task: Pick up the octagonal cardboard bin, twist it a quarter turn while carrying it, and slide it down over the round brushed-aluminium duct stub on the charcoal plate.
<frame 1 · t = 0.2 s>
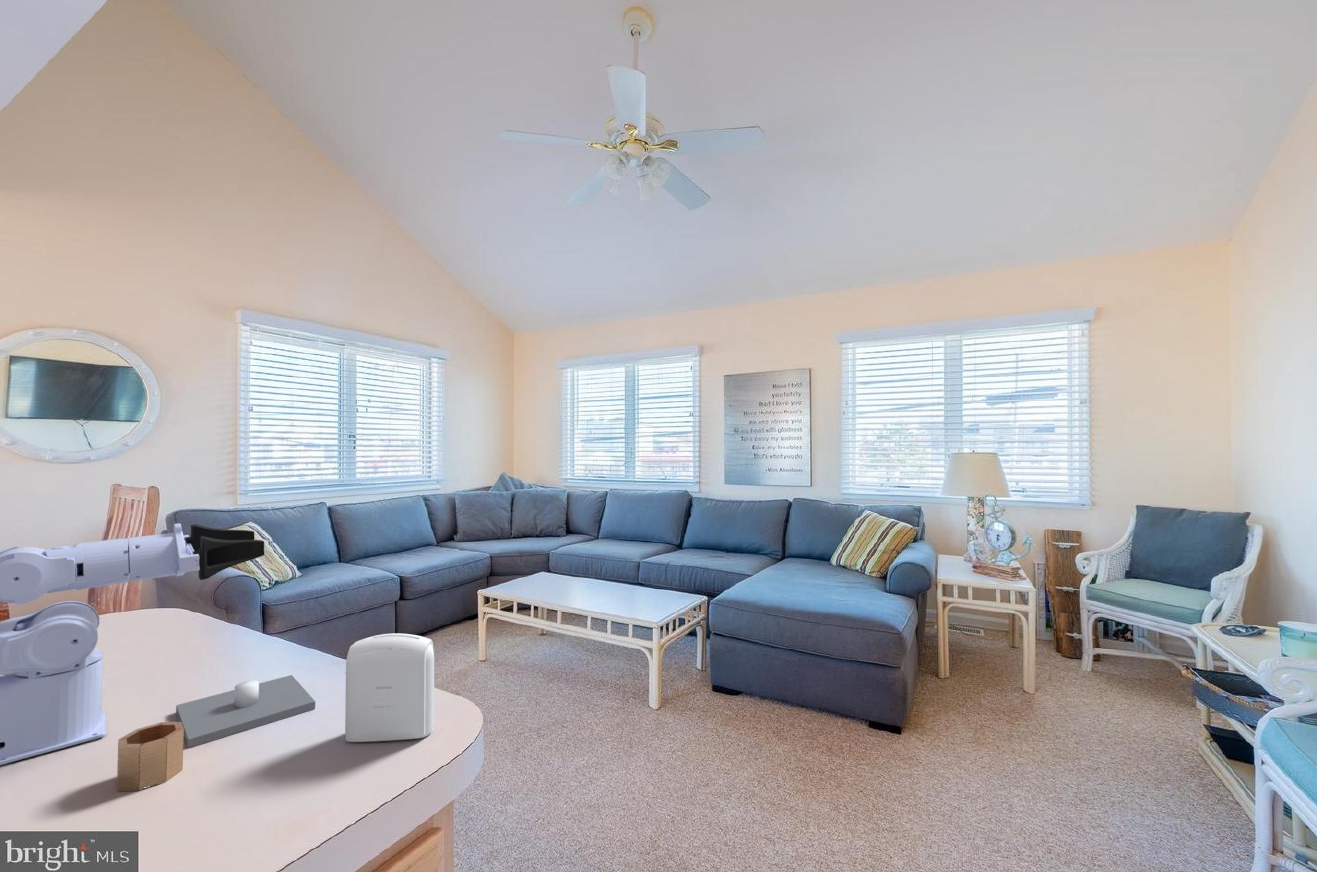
hand: (258, 542, 78), 21 cm above the counter, tool horizontal, fingers open, 7 cm apart
octagonal cardboard bin: (150, 775, 57), on the counter
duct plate: (246, 710, 71), on the counter
photo printer: (390, 736, 66), on the counter
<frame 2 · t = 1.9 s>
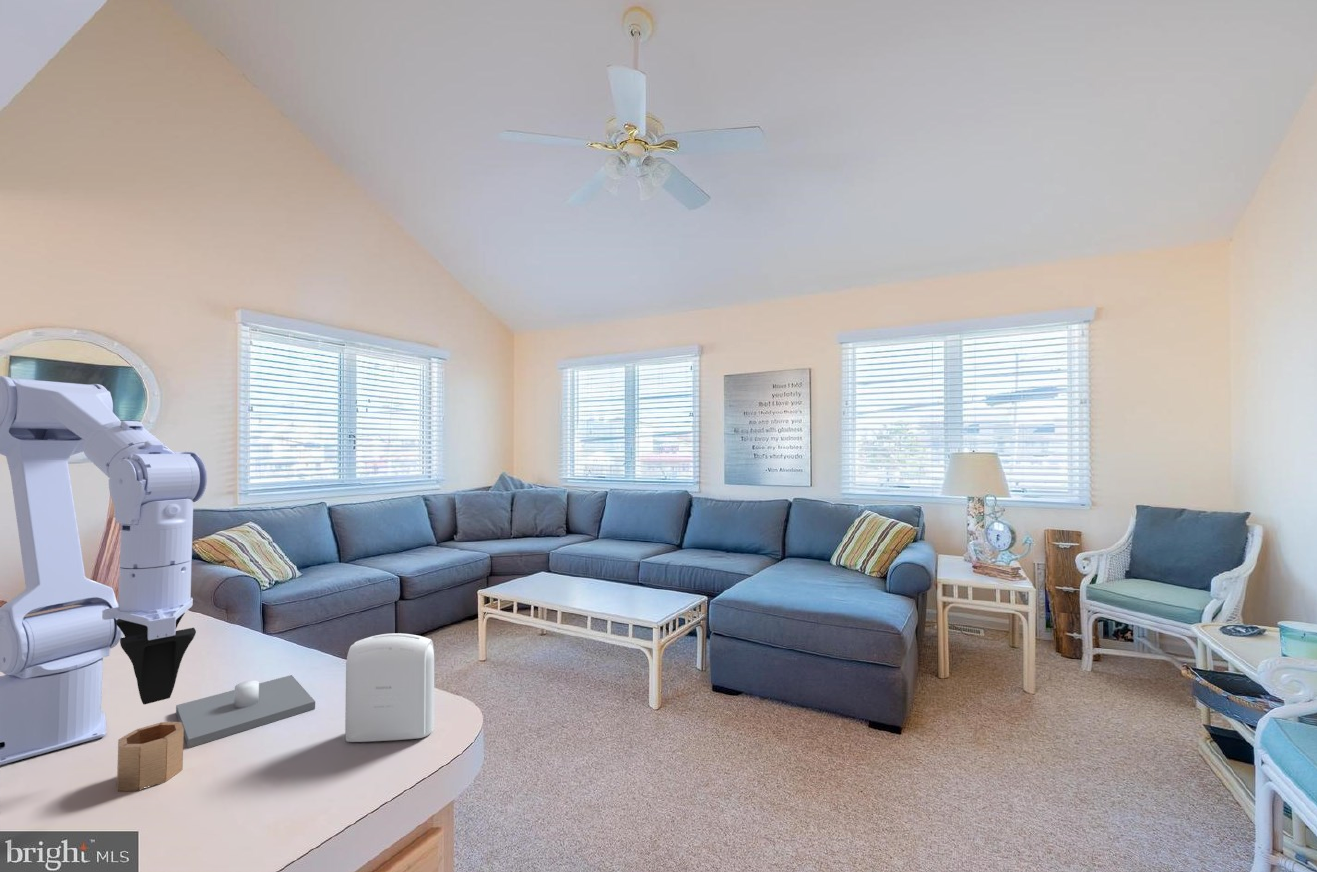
hand: (153, 688, 57), 9 cm above the counter, tool pointing down, fingers open, 7 cm apart
nothing on the counter moved.
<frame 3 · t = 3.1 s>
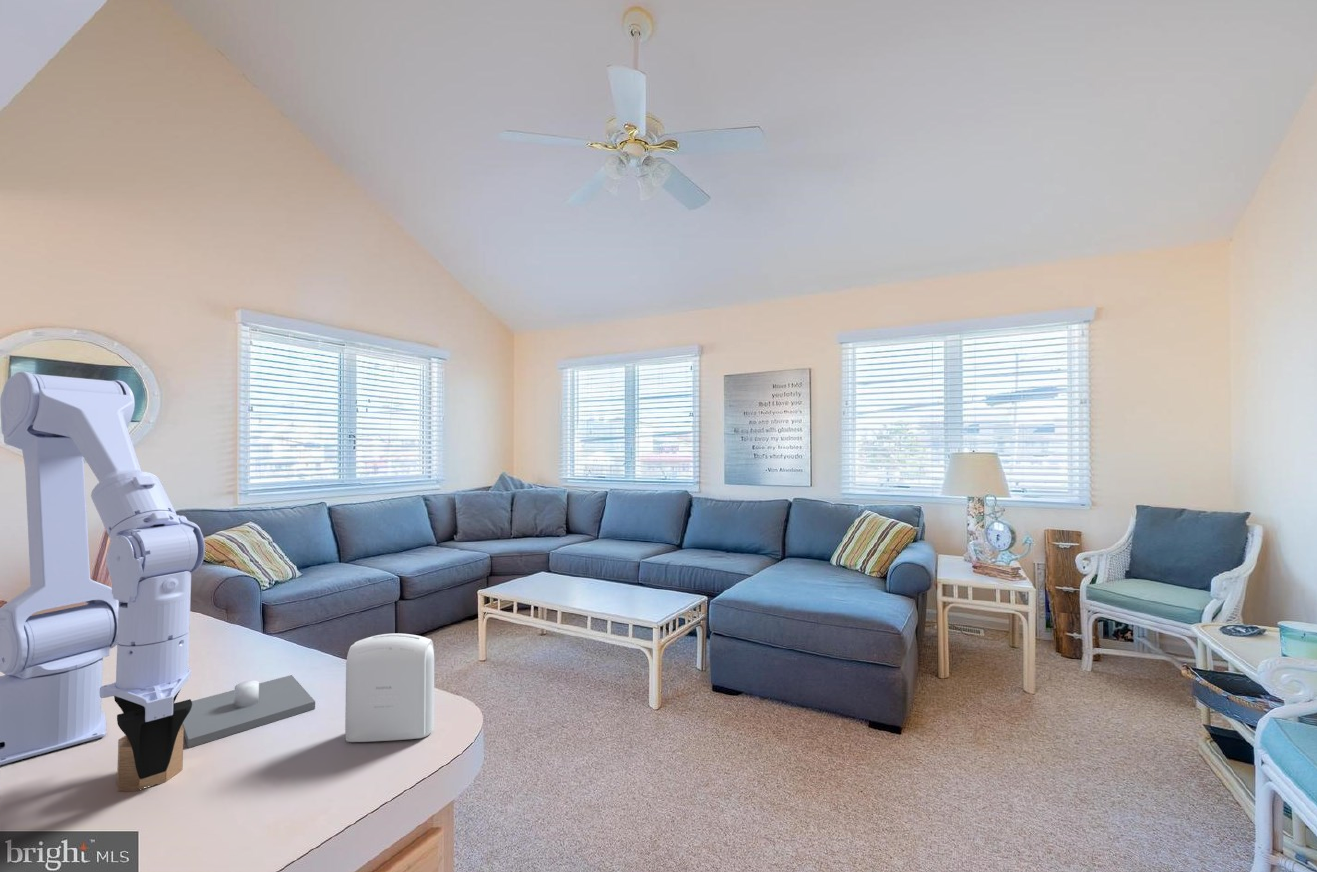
hand: (150, 762, 57), 1 cm above the counter, tool pointing down, fingers closed on octagonal cardboard bin, 5 cm apart
octagonal cardboard bin: (150, 775, 57), on the counter, touching gripper
everything else where it was.
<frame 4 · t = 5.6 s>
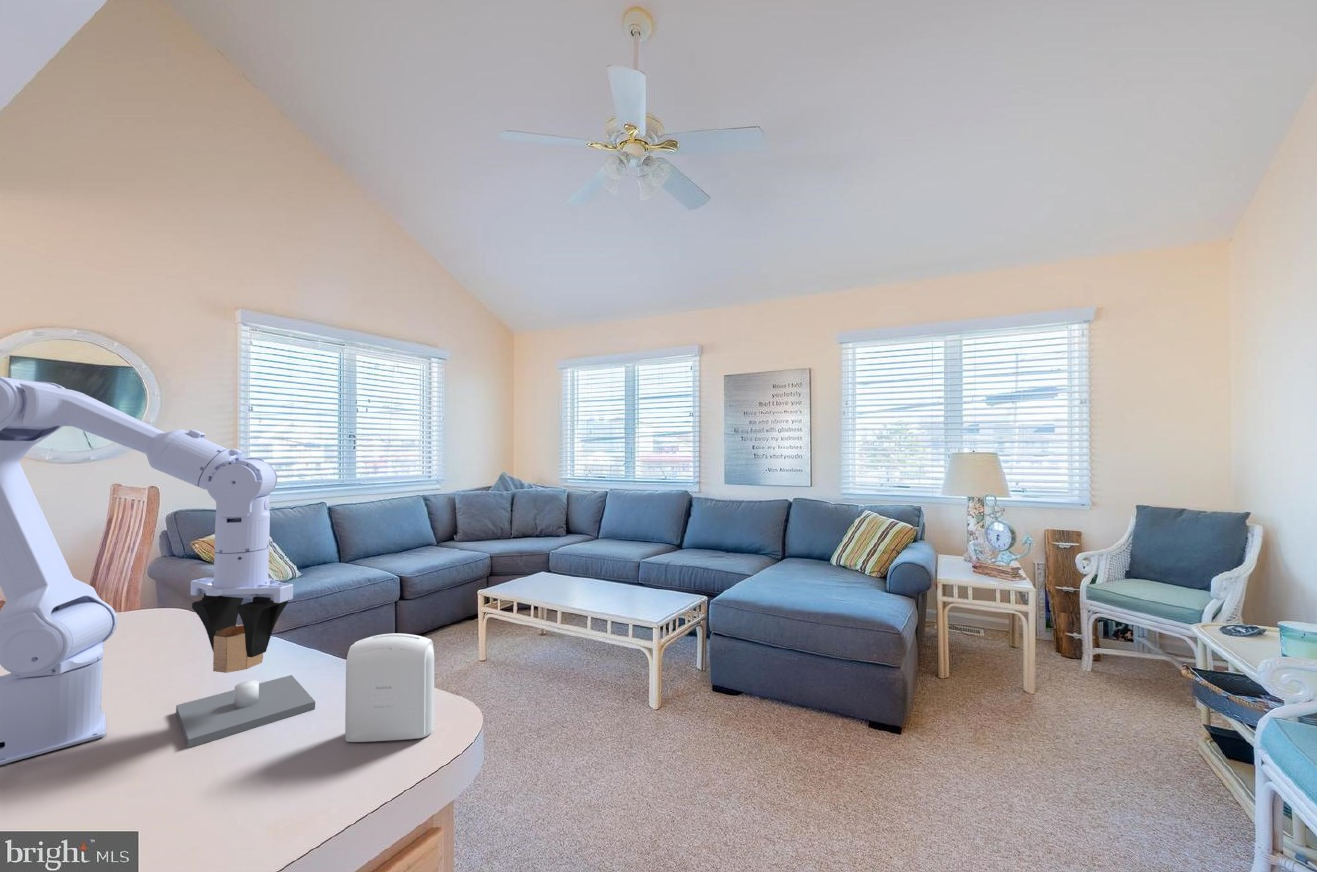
hand: (239, 652, 70), 8 cm above the counter, tool pointing down, fingers closed on octagonal cardboard bin, 5 cm apart
octagonal cardboard bin: (238, 664, 70), point 7 cm above the counter, touching gripper
everything else where it was.
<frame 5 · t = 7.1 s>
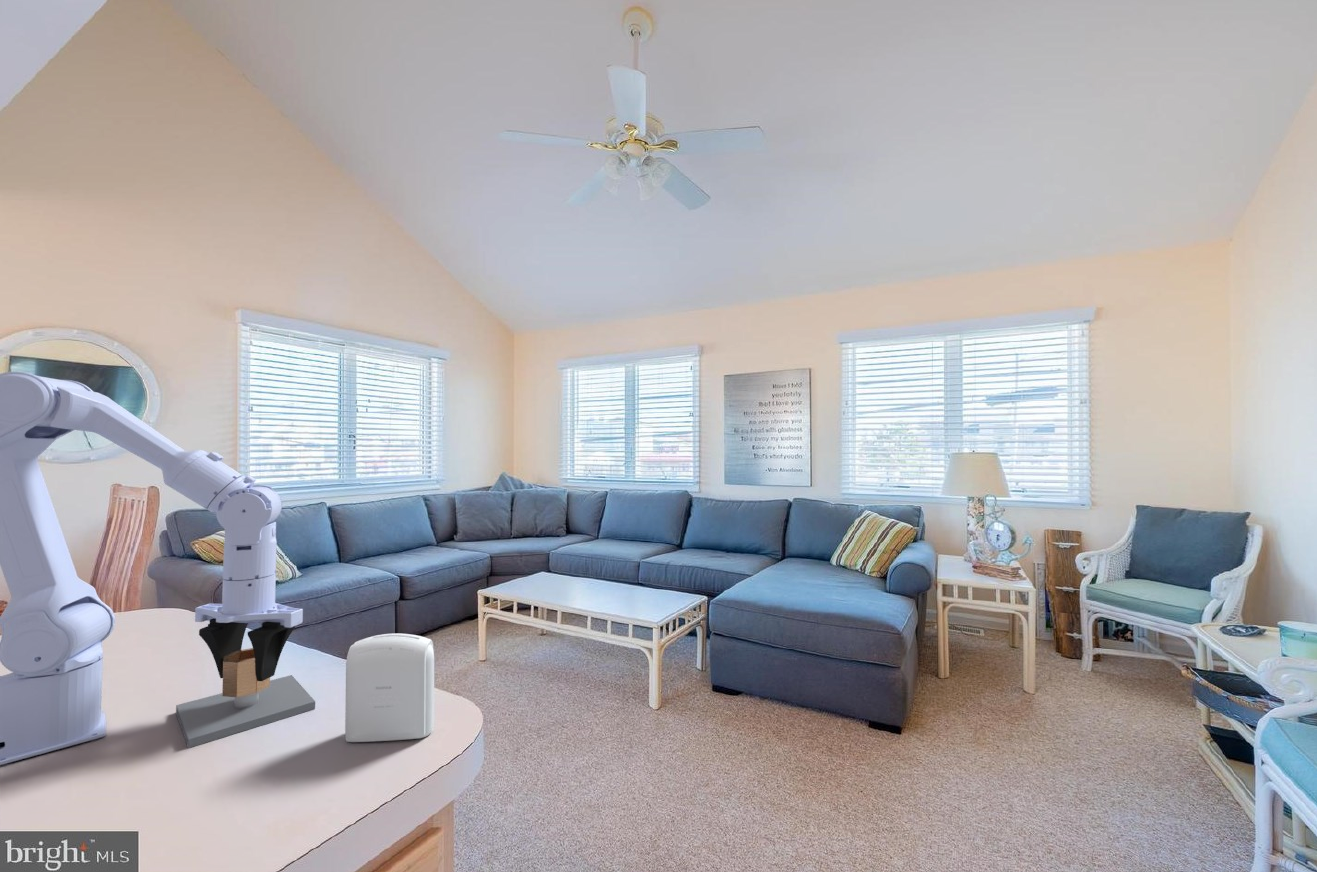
hand: (247, 676, 71), 5 cm above the counter, tool pointing down, fingers closed on octagonal cardboard bin, 5 cm apart
octagonal cardboard bin: (246, 687, 71), point 3 cm above the counter, touching gripper
everything else where it was.
when the fingers open (3 cm above the counter, at t = 8.3 s): octagonal cardboard bin stays where it is, resting on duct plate.
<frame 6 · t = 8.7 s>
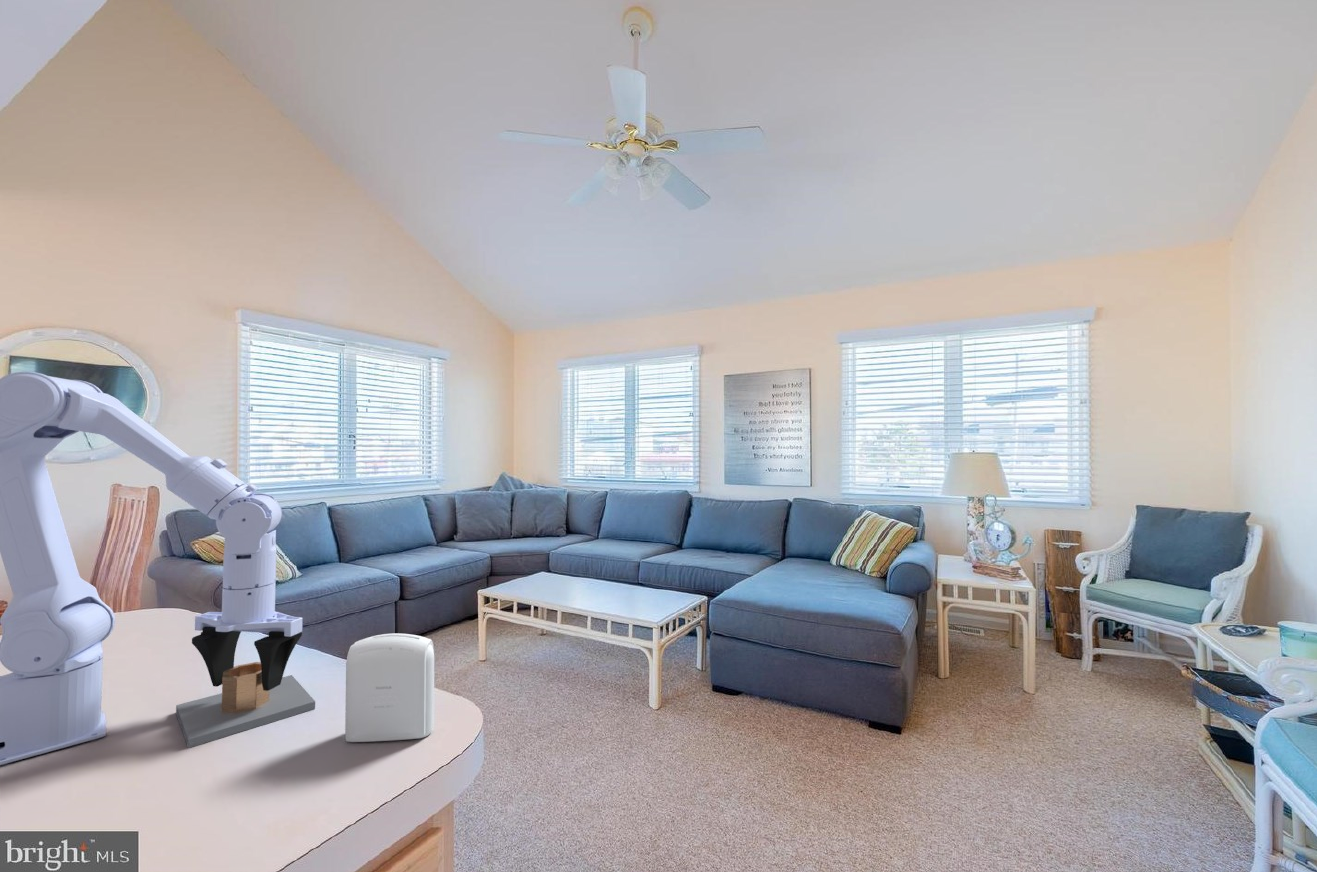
hand: (247, 685, 71), 3 cm above the counter, tool pointing down, fingers open, 7 cm apart
octagonal cardboard bin: (245, 703, 71), point 1 cm above the counter, touching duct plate
everything else where it was.
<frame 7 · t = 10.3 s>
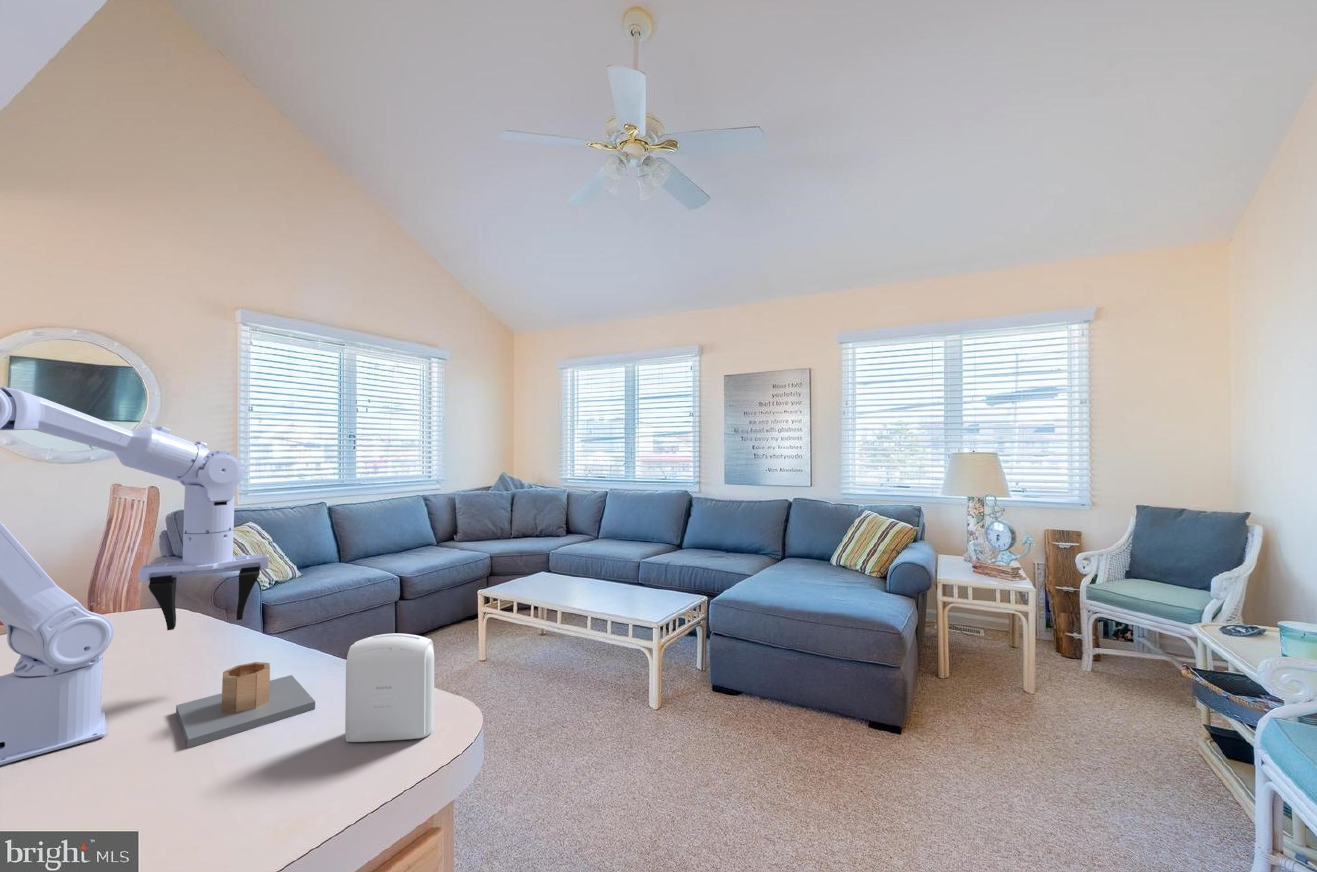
hand: (206, 622, 78), 9 cm above the counter, tool pointing down, fingers open, 7 cm apart
nothing on the counter moved.
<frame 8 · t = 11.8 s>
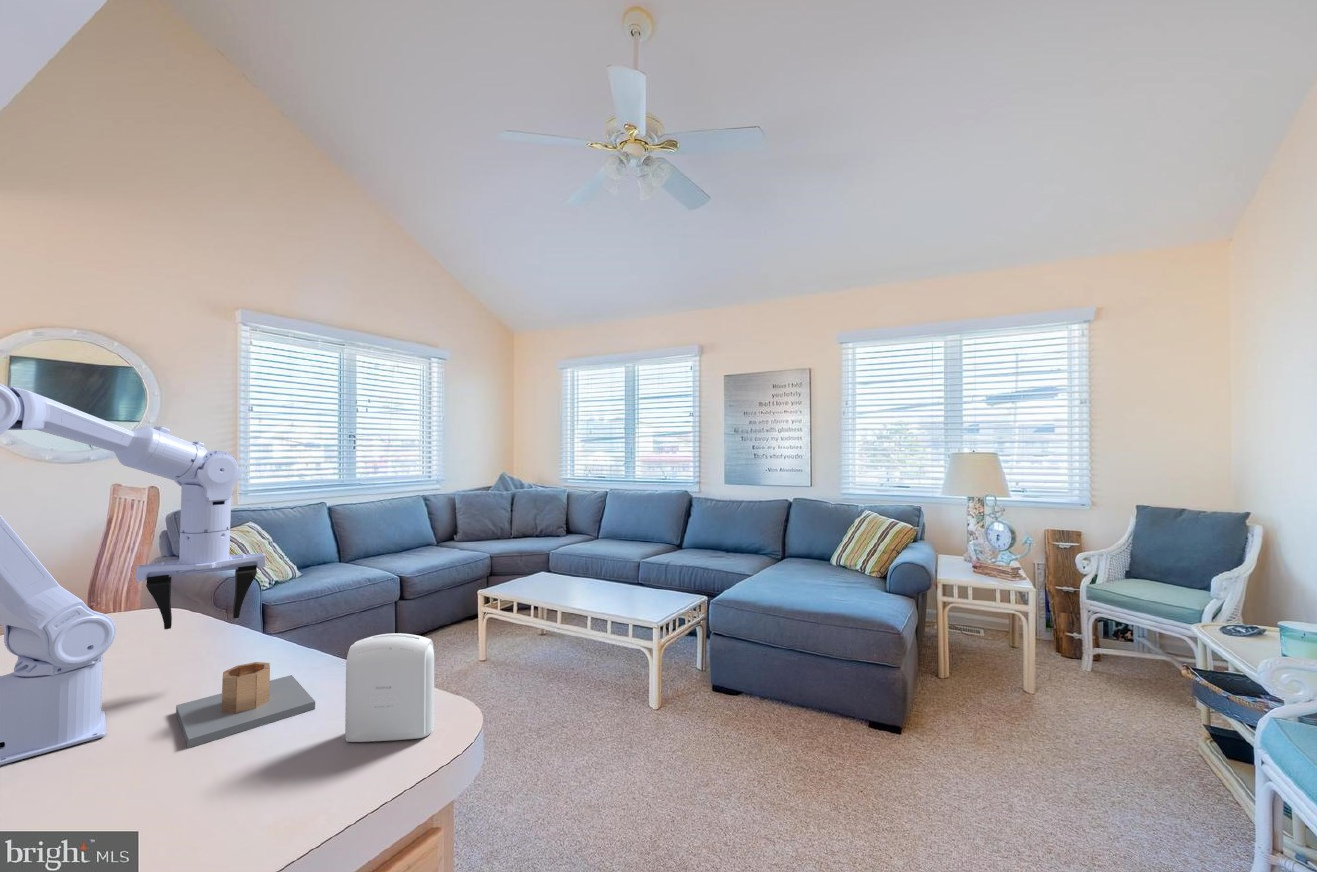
hand: (203, 621, 79), 9 cm above the counter, tool pointing down, fingers open, 7 cm apart
nothing on the counter moved.
at the end: octagonal cardboard bin 0.1 cm off-centre on the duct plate, point 1.0 cm above the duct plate's base; octagonal cardboard bin tilted 0°; the gripper is holding nothing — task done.
